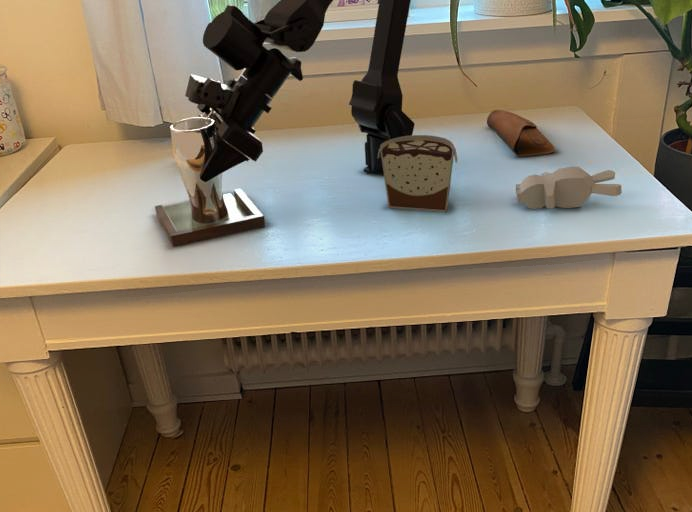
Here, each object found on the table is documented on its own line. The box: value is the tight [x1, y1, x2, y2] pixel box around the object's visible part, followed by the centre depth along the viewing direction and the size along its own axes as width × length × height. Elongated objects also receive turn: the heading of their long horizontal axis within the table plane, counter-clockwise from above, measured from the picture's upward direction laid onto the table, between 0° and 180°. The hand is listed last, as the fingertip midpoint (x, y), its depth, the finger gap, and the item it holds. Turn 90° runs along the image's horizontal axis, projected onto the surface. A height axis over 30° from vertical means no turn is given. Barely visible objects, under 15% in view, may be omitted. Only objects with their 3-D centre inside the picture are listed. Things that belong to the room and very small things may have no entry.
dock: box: [154, 188, 266, 248], centre depth 120 cm, size 16×14×2 cm
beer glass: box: [169, 116, 229, 226], centre depth 115 cm, size 7×7×15 cm
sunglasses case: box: [486, 109, 557, 158], centre depth 141 cm, size 18×7×7 cm
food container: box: [378, 134, 458, 213], centre depth 117 cm, size 12×6×10 cm, turn 71°
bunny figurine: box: [515, 166, 623, 210], centre depth 115 cm, size 10×5×15 cm
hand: (197, 172), depth 115 cm, fingers closed on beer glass, 7 cm apart
